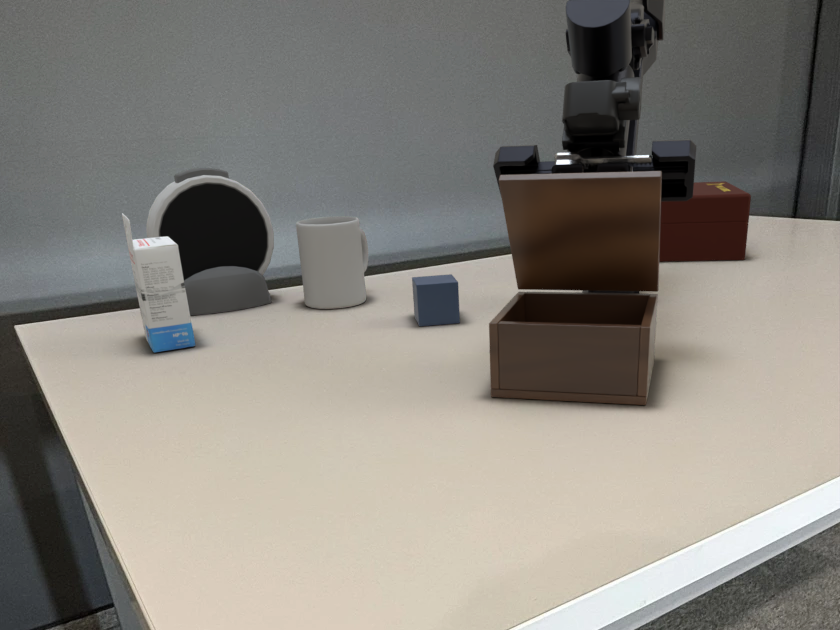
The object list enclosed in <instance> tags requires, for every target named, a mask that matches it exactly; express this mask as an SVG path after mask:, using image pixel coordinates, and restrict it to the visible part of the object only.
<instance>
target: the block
mask: <svg viewBox="0 0 840 630" xmlns="http://www.w3.org/2000/svg"><path fill="white" fill-rule="evenodd" d="M411 283H412V284H411V285H412V286H411V287H412V299H413V314H414V318H415V321H416V323H417V325H418V327H429V326H442V325H453V324H455V325H456V324H460V323H461V318H460V317H461V315H460V292H459V291H460V290H459V281H458V280H457V279H456V278H455V276H454V275H453V274H452V273H449V274H437V275H424V276H423V275H422V276H412V277H411Z"/></svg>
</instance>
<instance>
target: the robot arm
mask: <svg viewBox="0 0 840 630" xmlns="http://www.w3.org/2000/svg"><path fill="white" fill-rule="evenodd" d="M565 17H566V25H567V28H566V29H565V42H566V49H567V53H568V55H569V57H570V59H571V67H572V69H573V72H574V73H575V74H576V75H577V77H576V81H572V82H569V83H566V84H565V86H564V91H563V103H562V118H561V122H562V124H563V131H562V137H561V146H562V150H563V151H566V152H556V153H554V156H553V157H554V160H551V161H549V160H548V161H546V160H545V161H541V158H540V153H539V148H538V144H520V145H519V144H518V145H517V144H516V145H502V146H500V147H499V148H498V149H497V150H496V152H495V154H494V159H493V165H492V167H493V172H494V175H495V179H496V183H497V186H498V189H499V194H500V195H501V192H500V186H499V177H500V175H517V174H557V173H596V172H636V171H662V185H661V201H688V200H689V199H691V198H692V197H693V187H694V183H695V172H696V159H697V158H696V157H697V144H695V142H693V140H692V139H691V138H689V139H659V140H652V143H651V154H639V155H637V150H638V139H639V127H640V119H641V115H642V114H641V113H642V99H643V98H642V97H643V80H644V76H645V74H646V73H647V72H648V71H649V70H650V68H651V67H652V66H653V64H654V63H655V62H656V61H657V59H658V51H659V50H658V49H659V41H664V38H665V26H666V25H665V24H666V0H568V1H566V3H565ZM640 292H641V291H585V290H581V293H640Z"/></svg>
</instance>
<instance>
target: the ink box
mask: <svg viewBox="0 0 840 630" xmlns="http://www.w3.org/2000/svg"><path fill="white" fill-rule="evenodd" d="M121 216H122V218H121V219H122V223H123V229H124V233H125V238H126V244H127V249H128V254H129V259H130V264H131V270H132V275H133V281H134V285H135V291H136V296H137V302H138V305H139V311H140V315H141V320H142V325H143V330H144V336H145V340H146V341H147V343H148V346H149V347H150V349H151V351H152V353H161V352H167V351H173V350H180V349H186V348H193V347H196V340H195V339H196V338H195V334H194V328H193V323H192V317H191V315H190V312H189V306H188V301H187V295H186V290H185V284H184V278H183V273H182V267H181V261H180V255H179V249H178V245H177V244H176V243H175V242H174V241H173V240H171V239H170V238H169V237H168V236H166V237H154V238H147V237H145V238H136V239H133V234H132V229H131V220H130V219H129V218H128V216H127V215H126V214H124V213H123V212H122V213H121Z"/></svg>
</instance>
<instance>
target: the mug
mask: <svg viewBox="0 0 840 630" xmlns="http://www.w3.org/2000/svg"><path fill="white" fill-rule="evenodd" d="M295 229H296V236H297V246H298V254H299V263H300V271H301V280H302V289H303V300H304V304H305V306H307V307H308V308H311V309H319V310H334V309H346V308H351V307H355V306H358V305H361V304H363V303H365V302H366V300H367V288H366V287H367V286H366V279H365V272H366V271H367V269H368V265H369V254H370V253H369V244H368V239H367V235H366V232H365V230H363V228H361V223H360V219H359V218H358V217H356V216H346V215H345V216H342V215H338V216H336V215H335V216H320V217H311V218H305V219H301V220H298V221H296V223H295Z"/></svg>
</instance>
